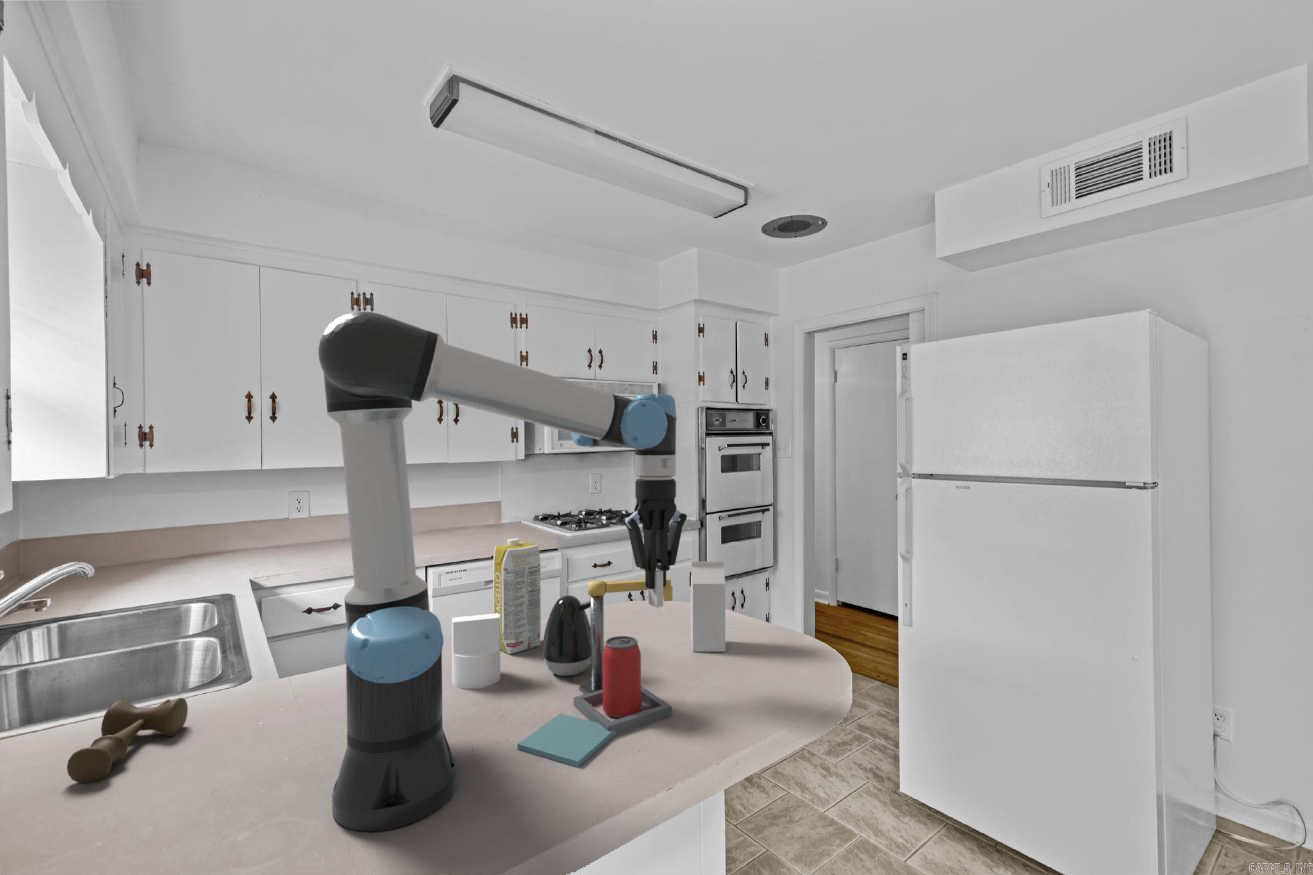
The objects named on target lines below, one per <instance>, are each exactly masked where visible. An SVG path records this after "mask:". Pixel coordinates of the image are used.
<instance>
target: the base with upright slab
mask: <svg viewBox="0 0 1313 875" xmlns="http://www.w3.org/2000/svg"><path fill="white" fill-rule="evenodd" d="M499 680H501V650H500V615H499V614H498V613H496V614H493V613H488V614H478V615H475V614H474V615H465V616H456V617H452V619H451V682H452V685H453V686H454V687H456V688H459V689H463V690H472V689H473V690H475V689H482V688H486V687H490V686H491V685H494V684H496V683H497V682H499Z"/></svg>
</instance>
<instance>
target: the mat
mask: <svg viewBox="0 0 1313 875" xmlns="http://www.w3.org/2000/svg"><path fill="white" fill-rule="evenodd" d="M615 735H617V733H616V728H615V729H612V730H609V731H607V730H606V729H605V728H604V727H603V726H601V725H600V724H599V723H597V722H593V721H590V720H589V719H586V718H585V719H584V718H581V717H577V716H573V715H569V714H564V713H558V714H557V715H555V717H552V718H551V719H550V720H549V721H547V722H546V723H544V724H543V725H542V726H540V727H538V729H536V730H535V731H533V732H531V734H529V735H528V736H526V737H525V738H523V739H522V740H521V741H519V742H517V747H516V748H517V750H519V751H522V752H526V753H528V754H529V753H530V754H533V755H536V756H539V757H542V758H546V759H549V760H553V761H556V762H558V763H559V762H560V763H562V764H563V763H564V764H566V765H570V766H572V767H576V768H579V767H580V766H582V764H583V763H585V762H586V760H588V759H589V758H590V757H591V756H593V754H595V753H596V752H597V751H598V750H599V749H601V747H602V746H604V744H606V743H607V742H608V741H609V740H610V739H611V738H612V737H614V736H615Z"/></svg>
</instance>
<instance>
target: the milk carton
mask: <svg viewBox="0 0 1313 875" xmlns="http://www.w3.org/2000/svg"><path fill="white" fill-rule="evenodd" d="M724 566H725V564H724V561H691V569H690V570H691V572H690V628H691V629H690V633H691V634H690V638H691V639H690V640H691V642H690V643H691V649H692V652H695V653H696V652H706V653H709V652H710V653H711V652H712V653H714V652H720V653H721V652H723V653H724V652H726V578H725V576H726V575H725V567H724Z"/></svg>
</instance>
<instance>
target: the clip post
mask: <svg viewBox="0 0 1313 875" xmlns="http://www.w3.org/2000/svg"><path fill="white" fill-rule="evenodd" d="M589 596H590V600H589V601H590V603H591V607H590V627H591V661H590V682H588V683H585V684H584V683H583V684H580V685H579V686H578V690H579V691H580V692H581V693H582V694H583V695H584V694H588V693H592V692H595V691H599V690H603V658H602V655H603V651H604V648H605V646H604V644H605V642H604V641H605V640H604V637H605V634H604V632H605V630H604V623H605V622H604V621H605V620H604V619H605V618H604V617H605V616H604V614H605V613H604V612H605V611H604V609H605V608H604V606H605V604H604V596H605V595H601V596H591V595H589Z"/></svg>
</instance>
